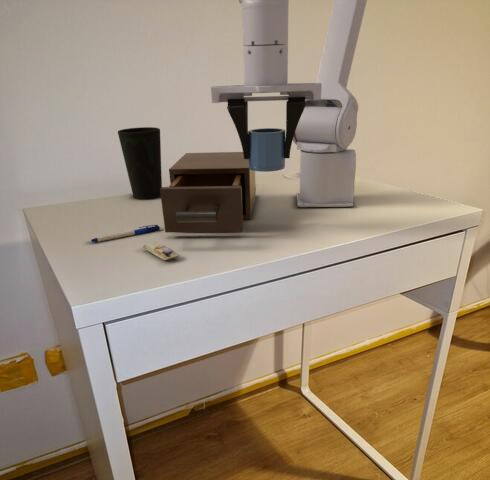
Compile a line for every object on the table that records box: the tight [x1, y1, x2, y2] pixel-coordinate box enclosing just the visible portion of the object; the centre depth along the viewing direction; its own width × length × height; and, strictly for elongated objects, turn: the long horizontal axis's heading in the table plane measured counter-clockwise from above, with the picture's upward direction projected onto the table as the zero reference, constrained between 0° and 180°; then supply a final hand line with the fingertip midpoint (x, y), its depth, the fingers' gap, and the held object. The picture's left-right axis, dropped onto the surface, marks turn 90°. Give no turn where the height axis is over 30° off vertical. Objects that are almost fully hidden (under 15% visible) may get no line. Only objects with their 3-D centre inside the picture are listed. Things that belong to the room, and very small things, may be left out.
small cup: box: [248, 127, 286, 173], centre depth 66 cm, size 5×5×5 cm
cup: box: [117, 126, 163, 200], centre depth 88 cm, size 8×8×12 cm
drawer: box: [160, 173, 245, 233], centre depth 70 cm, size 18×11×6 cm, turn 176°
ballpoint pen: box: [90, 224, 161, 243], centre depth 70 cm, size 10×1×1 cm, turn 122°
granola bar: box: [141, 240, 179, 261], centre depth 63 cm, size 7×2×1 cm, turn 37°
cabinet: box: [168, 151, 257, 221], centre depth 80 cm, size 15×13×8 cm
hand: (266, 157), depth 66 cm, fingers closed on small cup, 5 cm apart
